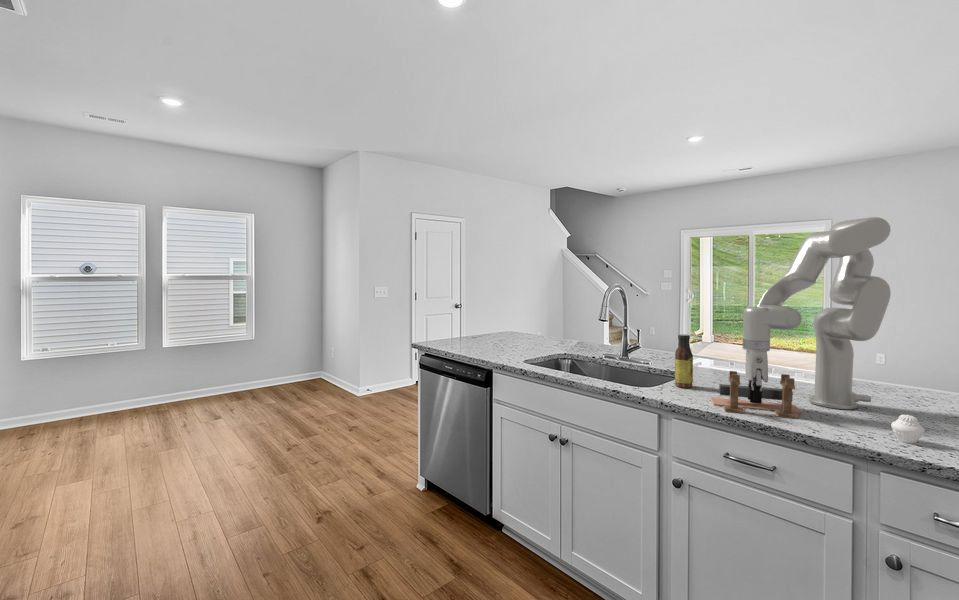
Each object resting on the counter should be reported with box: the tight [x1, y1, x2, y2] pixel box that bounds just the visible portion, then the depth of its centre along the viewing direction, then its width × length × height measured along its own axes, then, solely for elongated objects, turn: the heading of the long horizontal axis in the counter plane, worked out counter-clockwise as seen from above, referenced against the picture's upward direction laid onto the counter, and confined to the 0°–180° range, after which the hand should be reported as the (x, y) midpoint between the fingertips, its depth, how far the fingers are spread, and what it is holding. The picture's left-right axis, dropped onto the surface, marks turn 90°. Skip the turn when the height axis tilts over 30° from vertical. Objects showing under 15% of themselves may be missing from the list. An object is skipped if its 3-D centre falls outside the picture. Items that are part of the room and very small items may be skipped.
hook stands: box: [723, 370, 799, 419], centre depth 136 cm, size 19×6×12 cm, turn 68°
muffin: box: [890, 414, 926, 445], centre depth 113 cm, size 6×6×7 cm
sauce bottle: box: [674, 333, 694, 389], centre depth 168 cm, size 7×6×20 cm
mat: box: [711, 397, 803, 414], centre depth 144 cm, size 24×8×1 cm, turn 68°
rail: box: [718, 383, 794, 401], centre depth 143 cm, size 20×3×3 cm, turn 68°
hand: (754, 400), depth 144 cm, fingers closed on rail, 2 cm apart
